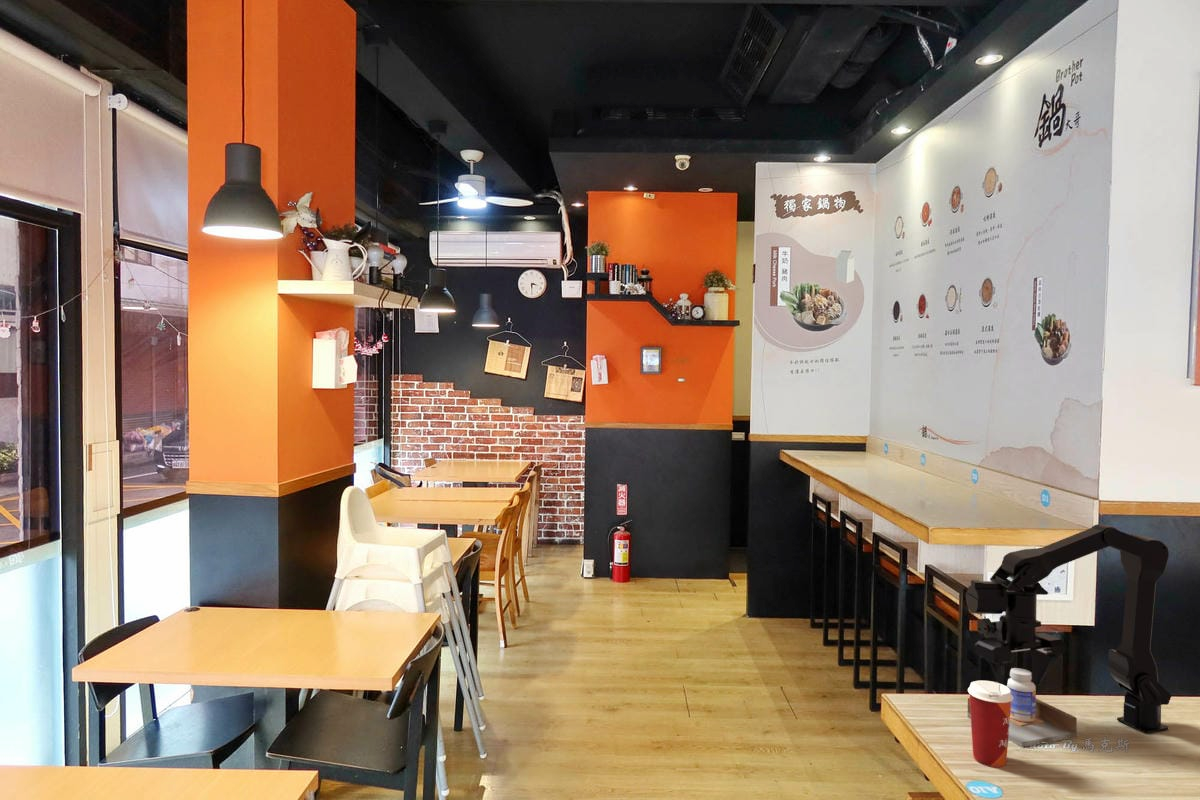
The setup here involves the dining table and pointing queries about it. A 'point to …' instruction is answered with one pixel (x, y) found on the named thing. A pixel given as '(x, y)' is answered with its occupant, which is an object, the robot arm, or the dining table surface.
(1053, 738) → the corner arena
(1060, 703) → the dining table surface
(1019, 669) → the pill bottle
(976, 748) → the paper cup
